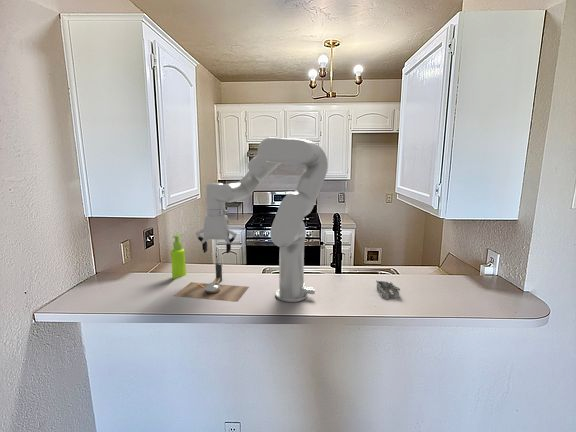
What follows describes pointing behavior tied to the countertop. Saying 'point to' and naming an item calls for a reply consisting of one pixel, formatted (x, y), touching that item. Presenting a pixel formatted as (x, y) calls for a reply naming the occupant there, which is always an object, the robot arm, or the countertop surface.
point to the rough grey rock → (387, 289)
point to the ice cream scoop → (215, 281)
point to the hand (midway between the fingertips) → (216, 252)
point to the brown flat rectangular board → (224, 294)
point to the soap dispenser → (178, 259)
